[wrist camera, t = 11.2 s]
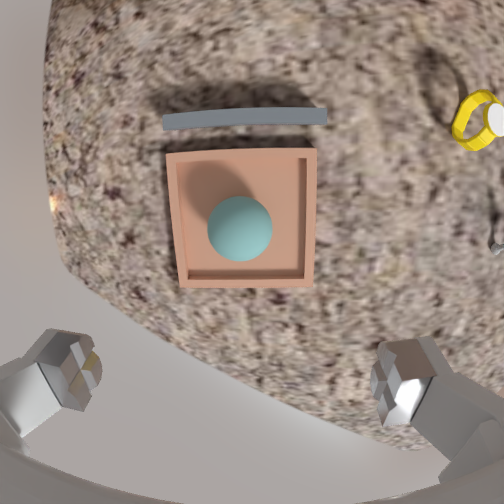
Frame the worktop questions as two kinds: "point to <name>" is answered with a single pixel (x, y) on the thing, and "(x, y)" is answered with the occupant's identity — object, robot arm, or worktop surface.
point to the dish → (253, 186)
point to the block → (245, 117)
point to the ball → (239, 228)
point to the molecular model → (497, 248)
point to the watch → (494, 117)
